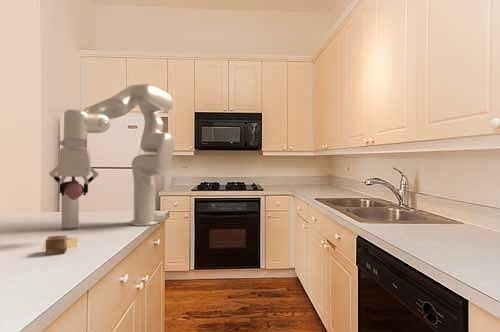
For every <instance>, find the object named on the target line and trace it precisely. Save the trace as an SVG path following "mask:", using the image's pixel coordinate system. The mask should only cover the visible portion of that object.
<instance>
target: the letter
mask: <svg viewBox="0 0 500 332" xmlns="http://www.w3.org/2000/svg"><path fill="white" fill-rule="evenodd" d="M78 240H79V238H78V236H75V237H67V249H68V248H77V247H78ZM43 250H45V251H46V240H45V242H44V244H43V246H42V248H41V251H43Z"/></svg>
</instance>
